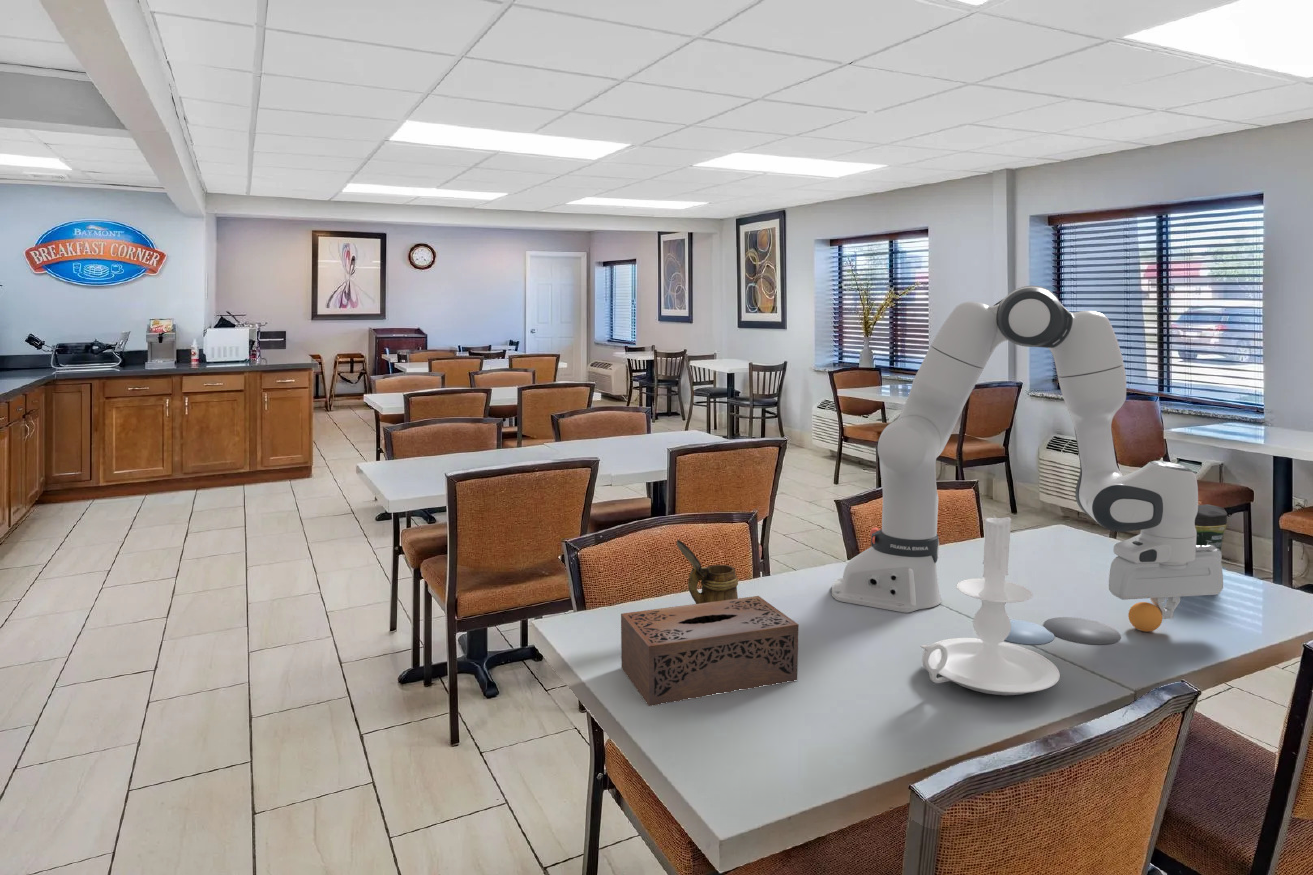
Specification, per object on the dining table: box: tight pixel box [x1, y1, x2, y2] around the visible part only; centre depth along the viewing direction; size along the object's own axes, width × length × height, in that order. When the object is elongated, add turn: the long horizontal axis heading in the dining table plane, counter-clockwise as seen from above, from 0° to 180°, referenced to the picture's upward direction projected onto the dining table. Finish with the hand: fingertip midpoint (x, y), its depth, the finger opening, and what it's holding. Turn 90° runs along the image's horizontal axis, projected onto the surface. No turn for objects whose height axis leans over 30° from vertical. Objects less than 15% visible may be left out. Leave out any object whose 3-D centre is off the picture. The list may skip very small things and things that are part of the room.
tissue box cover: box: [620, 595, 799, 707], centre depth 133 cm, size 26×14×10 cm, turn 109°
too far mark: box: [1004, 618, 1055, 646], centre depth 152 cm, size 12×12×1 cm
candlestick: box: [920, 514, 1061, 696], centre depth 129 cm, size 21×25×28 cm
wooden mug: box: [676, 539, 739, 604], centre depth 154 cm, size 9×14×18 cm, turn 112°
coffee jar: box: [1195, 503, 1228, 552], centre depth 175 cm, size 10×8×19 cm
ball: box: [1127, 601, 1163, 633], centre depth 152 cm, size 6×6×6 cm
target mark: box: [1042, 616, 1122, 646], centre depth 152 cm, size 13×13×1 cm
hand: (1164, 618), depth 152 cm, fingers closed
